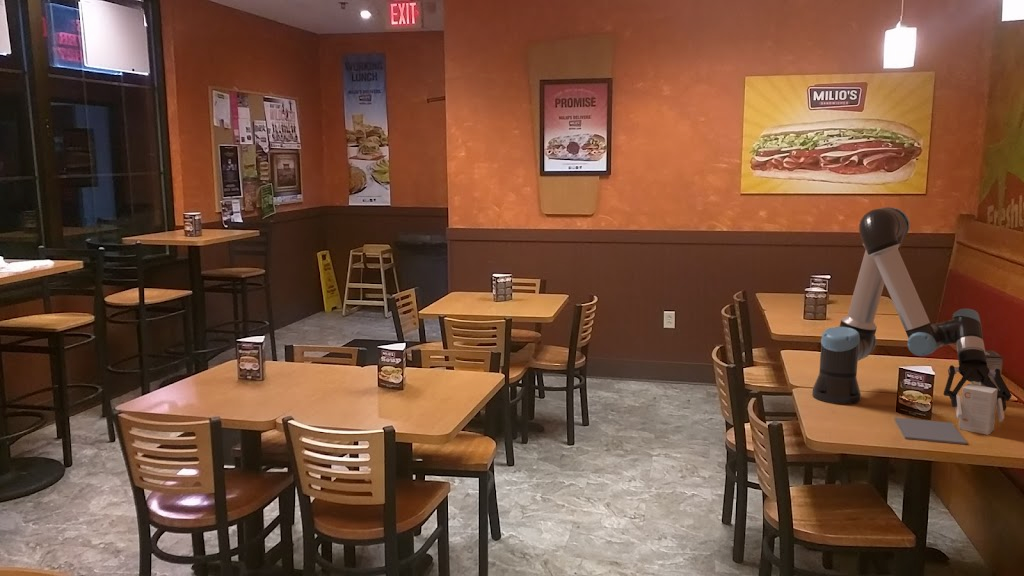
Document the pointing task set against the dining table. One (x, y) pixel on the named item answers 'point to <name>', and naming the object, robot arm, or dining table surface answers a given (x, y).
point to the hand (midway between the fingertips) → (980, 418)
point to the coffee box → (992, 365)
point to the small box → (978, 409)
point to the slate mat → (929, 431)
